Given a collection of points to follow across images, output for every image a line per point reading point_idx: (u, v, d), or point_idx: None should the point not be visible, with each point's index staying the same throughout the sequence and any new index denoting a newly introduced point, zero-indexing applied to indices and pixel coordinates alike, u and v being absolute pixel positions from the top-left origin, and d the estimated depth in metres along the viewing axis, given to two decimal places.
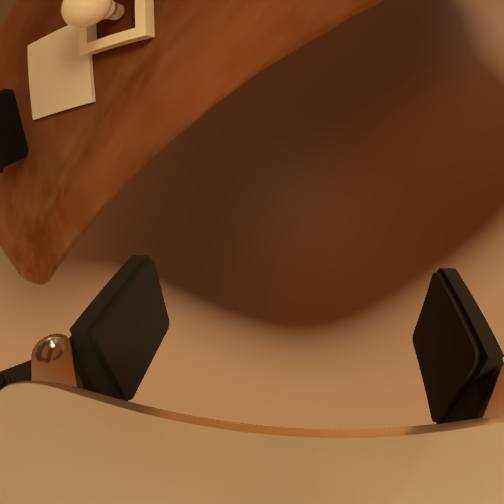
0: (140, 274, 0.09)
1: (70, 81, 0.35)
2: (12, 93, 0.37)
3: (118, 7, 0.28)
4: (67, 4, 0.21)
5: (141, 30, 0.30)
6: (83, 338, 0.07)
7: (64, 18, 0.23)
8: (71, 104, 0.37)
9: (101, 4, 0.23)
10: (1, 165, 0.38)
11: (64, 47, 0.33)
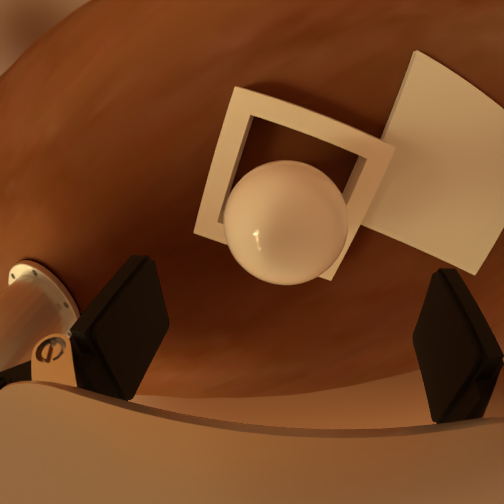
0: (140, 274, 0.09)
1: (445, 126, 0.18)
2: None
3: None
4: (294, 251, 0.13)
5: (240, 101, 0.18)
6: (83, 338, 0.07)
7: (331, 224, 0.13)
8: (462, 85, 0.16)
9: (237, 186, 0.15)
10: None
11: (421, 201, 0.21)
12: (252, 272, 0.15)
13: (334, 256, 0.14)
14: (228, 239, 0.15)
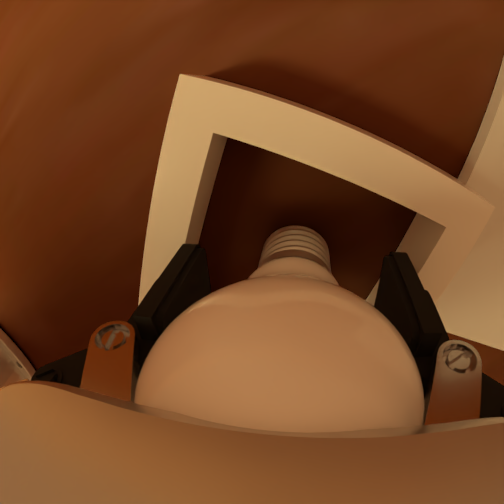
0: (195, 261, 0.10)
1: None
2: None
3: (259, 266, 0.11)
4: None
5: (191, 104, 0.08)
6: (148, 323, 0.07)
7: None
8: None
9: (147, 370, 0.05)
10: None
11: (502, 281, 0.11)
12: None
13: None
14: None
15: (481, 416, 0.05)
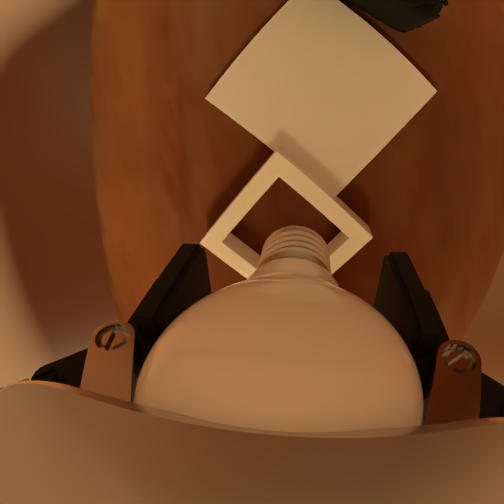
0: (195, 261, 0.10)
1: (274, 90, 0.23)
2: (392, 27, 0.19)
3: (259, 266, 0.11)
4: None
5: (210, 244, 0.29)
6: (149, 323, 0.07)
7: None
8: (240, 63, 0.22)
9: (146, 371, 0.05)
10: None
11: (338, 131, 0.24)
12: None
13: None
14: None
15: (481, 416, 0.05)
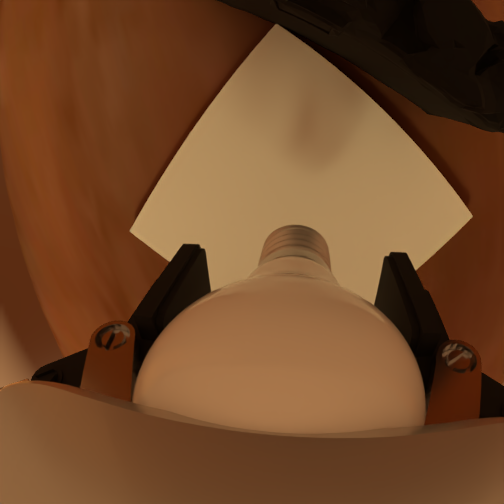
0: (195, 261, 0.10)
1: (222, 225, 0.17)
2: (422, 108, 0.12)
3: (259, 266, 0.11)
4: None
5: None
6: (149, 323, 0.07)
7: None
8: (169, 182, 0.16)
9: (145, 370, 0.05)
10: None
11: None
12: None
13: None
14: None
15: (481, 416, 0.05)
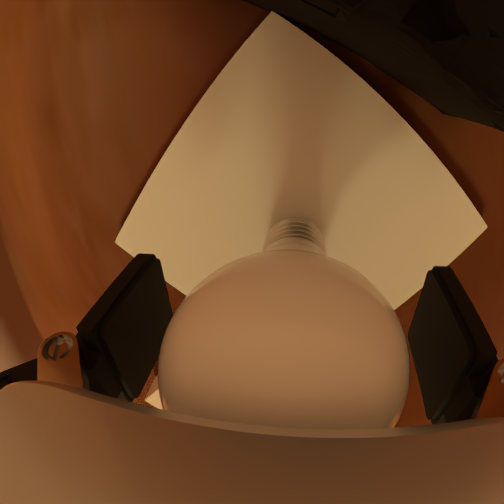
0: (146, 272, 0.09)
1: (213, 237, 0.15)
2: (437, 107, 0.11)
3: None
4: None
5: (156, 403, 0.21)
6: (90, 336, 0.07)
7: (383, 427, 0.05)
8: (154, 189, 0.14)
9: (174, 324, 0.06)
10: None
11: None
12: None
13: None
14: None
15: None
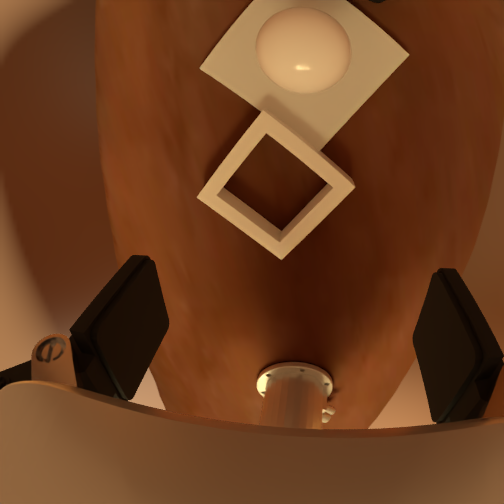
0: (140, 274, 0.09)
1: None
2: None
3: None
4: (311, 44, 0.15)
5: (206, 197, 0.31)
6: (83, 338, 0.07)
7: (337, 33, 0.15)
8: (229, 36, 0.24)
9: (266, 20, 0.16)
10: None
11: (318, 92, 0.25)
12: (280, 71, 0.16)
13: (343, 59, 0.16)
14: (260, 50, 0.16)
15: None
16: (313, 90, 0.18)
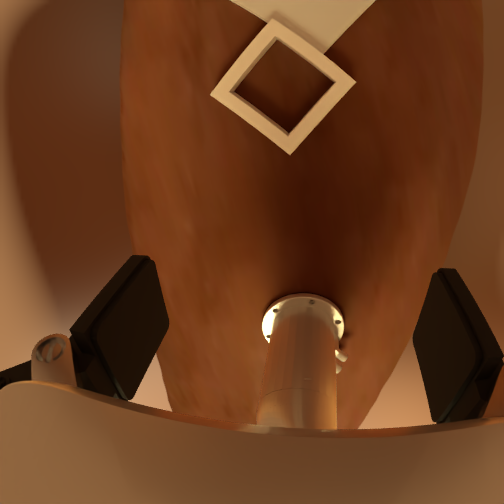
0: (140, 274, 0.09)
1: None
2: None
3: None
4: None
5: (219, 94, 0.30)
6: (83, 338, 0.07)
7: None
8: None
9: None
10: None
11: (319, 9, 0.25)
12: None
13: None
14: None
15: None
16: None
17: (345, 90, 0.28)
